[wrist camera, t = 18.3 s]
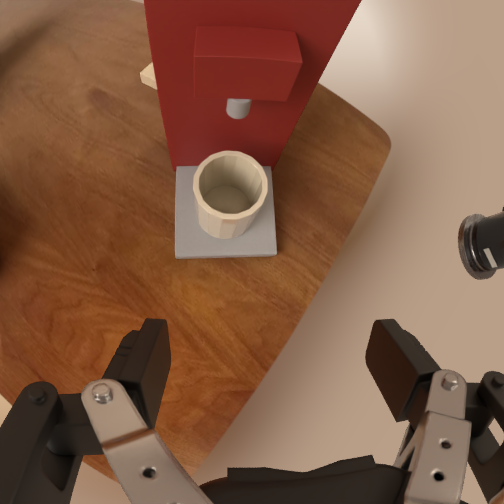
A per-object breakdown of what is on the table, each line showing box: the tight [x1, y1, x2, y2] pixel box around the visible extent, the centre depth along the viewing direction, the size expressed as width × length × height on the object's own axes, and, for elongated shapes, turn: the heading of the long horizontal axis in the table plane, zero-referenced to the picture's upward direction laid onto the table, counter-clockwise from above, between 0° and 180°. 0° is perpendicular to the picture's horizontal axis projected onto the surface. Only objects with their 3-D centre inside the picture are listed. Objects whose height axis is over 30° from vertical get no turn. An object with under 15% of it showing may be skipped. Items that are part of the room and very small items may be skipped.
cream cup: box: [193, 151, 268, 239], centre depth 30 cm, size 6×6×8 cm
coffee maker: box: [144, 0, 361, 259], centre depth 22 cm, size 16×12×27 cm
